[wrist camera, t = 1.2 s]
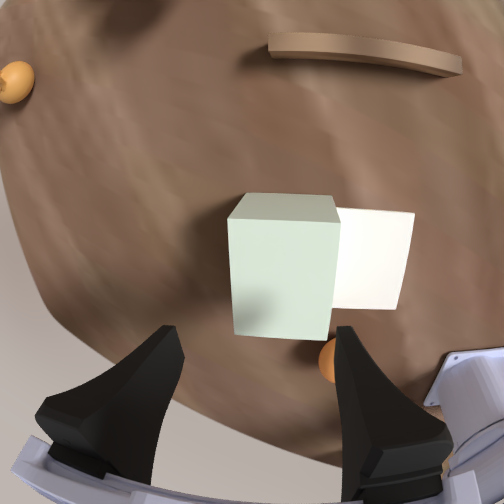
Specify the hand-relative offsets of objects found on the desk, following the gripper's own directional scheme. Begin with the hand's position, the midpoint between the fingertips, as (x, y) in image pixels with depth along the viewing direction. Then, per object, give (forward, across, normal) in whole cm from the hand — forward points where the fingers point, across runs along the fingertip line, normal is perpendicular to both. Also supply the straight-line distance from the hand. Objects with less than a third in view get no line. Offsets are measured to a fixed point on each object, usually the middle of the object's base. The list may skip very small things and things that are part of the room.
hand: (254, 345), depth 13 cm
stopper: (+10, -7, -13) cm, 18 cm away
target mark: (+10, -6, +1) cm, 12 cm away
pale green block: (+10, -1, 0) cm, 10 cm away
